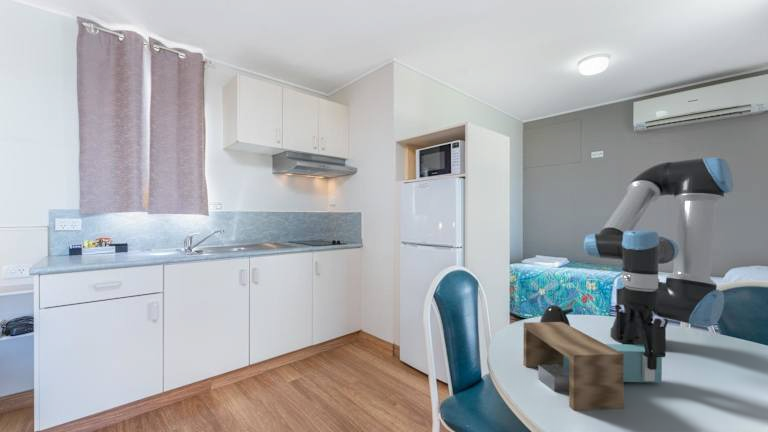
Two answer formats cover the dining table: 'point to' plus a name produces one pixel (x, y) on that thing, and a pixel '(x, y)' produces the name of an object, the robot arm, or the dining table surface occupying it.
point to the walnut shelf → (577, 363)
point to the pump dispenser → (555, 314)
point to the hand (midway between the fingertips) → (639, 374)
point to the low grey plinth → (554, 376)
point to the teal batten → (630, 362)
